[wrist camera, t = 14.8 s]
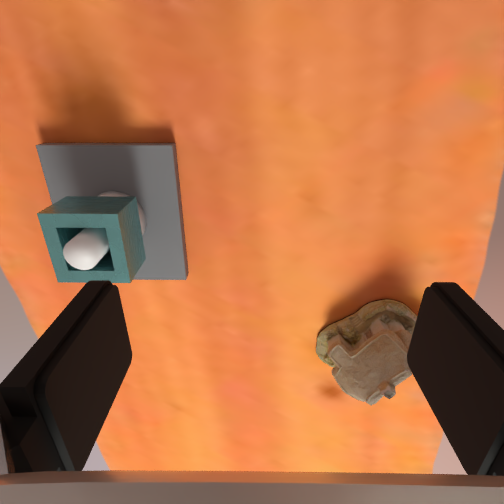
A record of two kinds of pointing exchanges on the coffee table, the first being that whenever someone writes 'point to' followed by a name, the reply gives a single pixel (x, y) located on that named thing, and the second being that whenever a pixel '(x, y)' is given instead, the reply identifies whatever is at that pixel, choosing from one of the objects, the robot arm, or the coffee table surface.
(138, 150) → the post plate
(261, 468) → the coffee table surface
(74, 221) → the collar
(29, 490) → the robot arm
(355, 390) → the ceramic model
